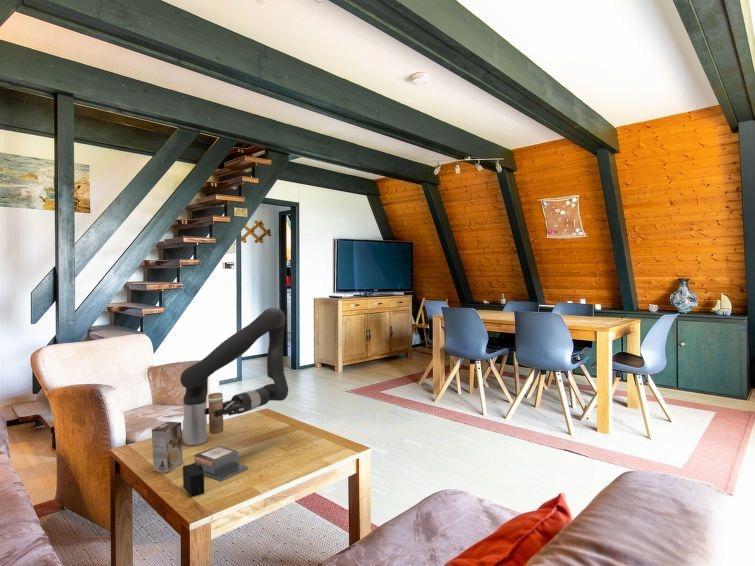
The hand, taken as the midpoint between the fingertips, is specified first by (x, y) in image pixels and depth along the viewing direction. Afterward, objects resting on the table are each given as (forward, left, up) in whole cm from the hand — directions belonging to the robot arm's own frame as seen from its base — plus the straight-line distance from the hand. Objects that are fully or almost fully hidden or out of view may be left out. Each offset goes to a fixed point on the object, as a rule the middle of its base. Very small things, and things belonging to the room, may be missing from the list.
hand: (210, 413), depth 172 cm
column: (0, +3, -8) cm, 8 cm away
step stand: (0, +3, -22) cm, 22 cm away
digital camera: (+7, -12, -22) cm, 26 cm away
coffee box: (-17, -6, -22) cm, 29 cm away
